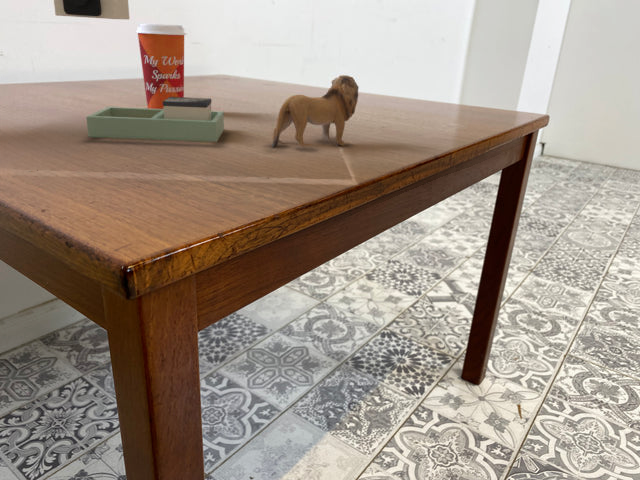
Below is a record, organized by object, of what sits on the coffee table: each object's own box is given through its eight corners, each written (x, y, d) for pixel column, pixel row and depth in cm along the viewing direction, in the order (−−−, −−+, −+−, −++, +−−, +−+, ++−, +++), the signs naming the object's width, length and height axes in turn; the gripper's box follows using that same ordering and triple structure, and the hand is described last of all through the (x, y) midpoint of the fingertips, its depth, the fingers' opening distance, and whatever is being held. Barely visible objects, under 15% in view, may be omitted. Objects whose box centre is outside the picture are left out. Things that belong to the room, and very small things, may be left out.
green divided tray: (216, 145, 67) (216, 121, 66) (89, 141, 66) (86, 116, 65) (224, 133, 75) (223, 111, 74) (109, 128, 74) (107, 106, 73)
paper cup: (145, 119, 82) (137, 23, 77) (139, 111, 89) (132, 22, 83) (194, 118, 85) (191, 26, 80) (185, 110, 92) (181, 25, 86)
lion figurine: (337, 136, 77) (341, 73, 74) (364, 142, 74) (369, 76, 70) (259, 147, 68) (259, 75, 64) (286, 155, 64) (288, 80, 61)
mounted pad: (164, 136, 68) (162, 101, 67) (171, 129, 73) (169, 96, 71) (207, 137, 69) (206, 103, 67) (212, 131, 73) (211, 98, 71)
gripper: (65, -188, 51) (86, 14, 58) (-37, -281, 35) (9, 11, 42) (143, -182, 51) (155, 18, 58) (75, -270, 36) (103, 17, 43)
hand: (93, 13), depth 50 cm, fingers closed on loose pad, 4 cm apart
